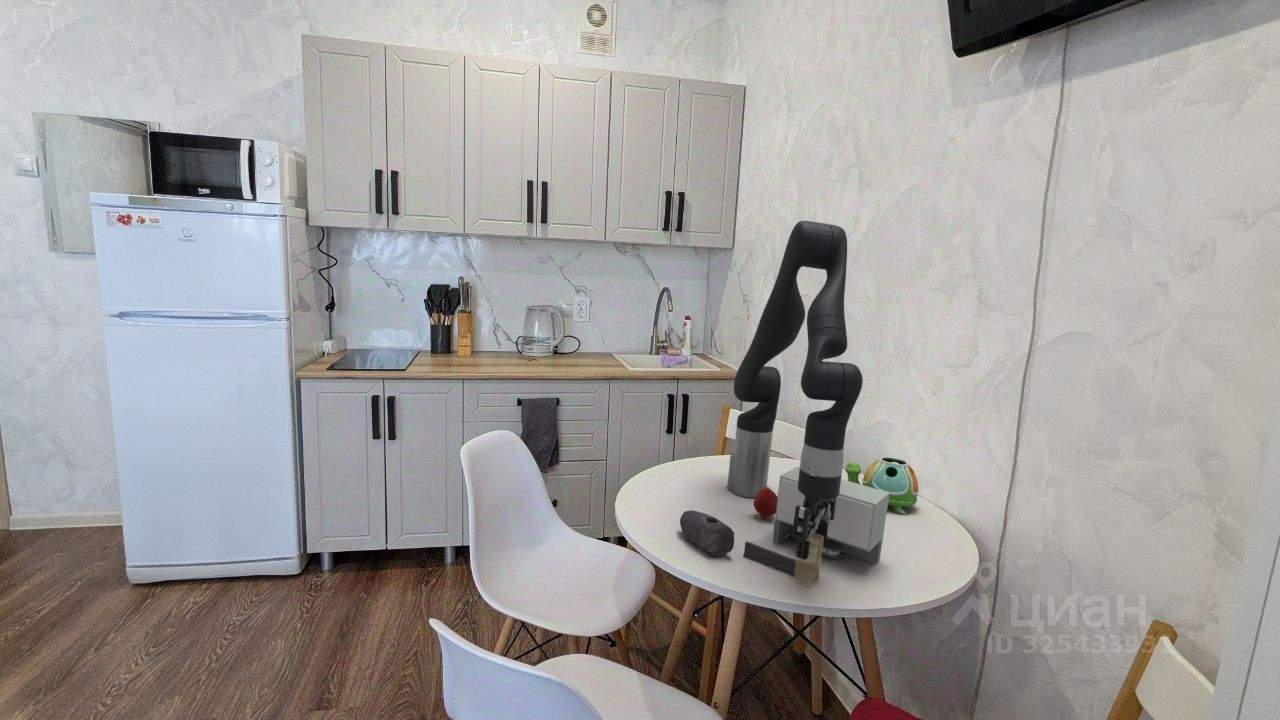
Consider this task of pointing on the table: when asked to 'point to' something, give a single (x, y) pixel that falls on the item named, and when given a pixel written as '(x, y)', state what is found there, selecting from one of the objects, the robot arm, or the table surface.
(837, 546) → the steel puck
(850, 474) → the turtle holder
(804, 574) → the blade tool
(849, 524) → the cabinet
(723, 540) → the perforated stone tool
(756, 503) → the onion
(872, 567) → the table surface
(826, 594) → the table surface
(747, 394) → the robot arm
